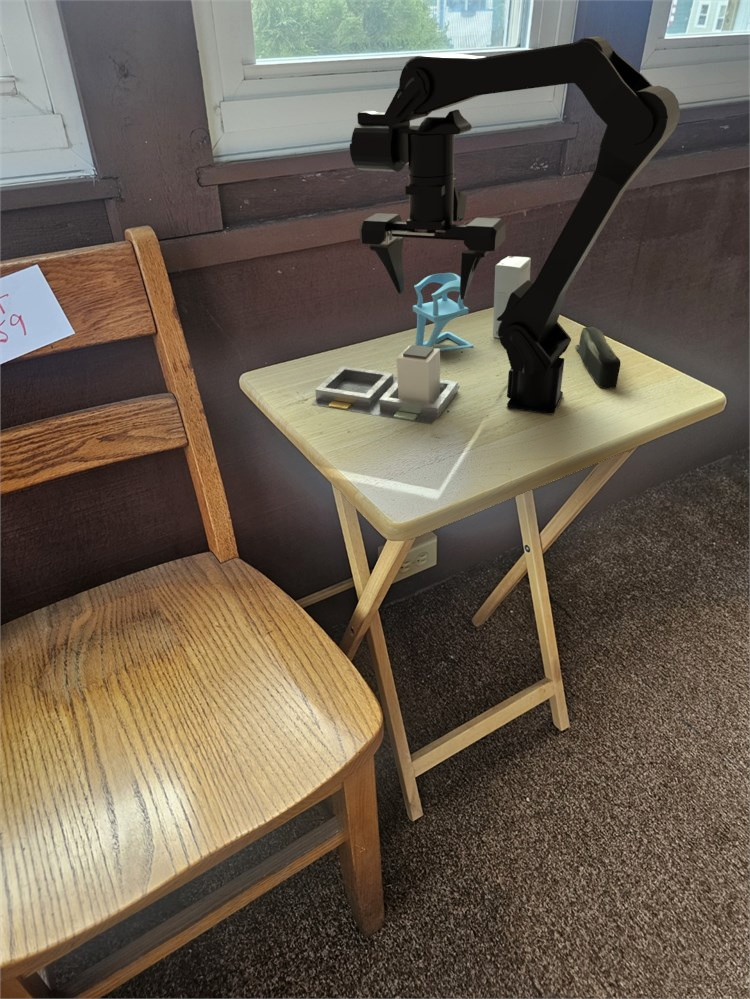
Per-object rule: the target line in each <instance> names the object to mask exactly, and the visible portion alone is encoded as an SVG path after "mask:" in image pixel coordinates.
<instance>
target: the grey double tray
mask: <svg viewBox="0 0 750 999" xmlns="http://www.w3.org/2000/svg"><path fill="white" fill-rule="evenodd" d="M460 388H461V387H460V385H459V381H453V380H446V379H440V396H439V397H438V398H437V400H436V401H435V402H434V404H429V403H423V402H416V401H410V400H403V399H398V377H397V376H394V372H390V371H389V372H388V371H381V370H374V369H367V368H362V367H361V368H360V367H354V366H353V367H352V366H346V365H341V366H340V367H339V368H338V369H336V370H335V371H334V372H333V373H332V374H331V375H330V376H328V377H327V378H326V379H325V380H324V381H323V382H322V383H321V384H320V385H319V386H318V387H316V388H315V389H314V390H315V399H316V400H315V401H314V402H313V403H312V404H311V406H315V407H316V406H317V407H323V408H329V409H336V410H340V411H348V412H352V413H359V414H365V415H371V416H378V417H383V418H389V419H394V420H395V419H396V420H401V421H408V422H414V423H419V424H425V425H433V423H434V422H435V420H436V419H439V418H440V416H441V414H443V412H444V411H445V409H446V408H447V406H448V405H449V404H450V403H451V401H452V400H453V399H454V398H455V396H456V395H457V393H458V392H459V389H460Z"/></svg>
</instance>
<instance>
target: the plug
mask: <svg viewBox="0 0 750 999" xmlns="http://www.w3.org/2000/svg"><path fill="white" fill-rule="evenodd" d="M396 369H397V372H396V374H397V375H396V377H398V399H403V400H410V401H416V402H423V403H429V404H434V402H435V401H436V400H437V398H438V397H439V396H440V380H441V351H440V349H436V348H435V347H426V345H425V346H417V345H415V344H409V345H407V347H406V348H405V349H404V350H403V351H402V352H401V353H400V354H399V355H398V356H397V357H396Z"/></svg>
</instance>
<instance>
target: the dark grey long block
mask: <svg viewBox="0 0 750 999" xmlns="http://www.w3.org/2000/svg"><path fill="white" fill-rule="evenodd" d="M574 348H575V350H576V351H577V352H578V353H580V354H579V355H580V357H581V360H582V362H583V364H584V365H585V367H586V369H587V371H588V373H589V374H590V376H591V378H592V379H593V381H594V383H595V384H596V385H597V387H600V388H603V389H615V388H617V385H618V381H619V374H620V369H621V359H620V358H619V356H617V355H616V353H615V352H614V351H613V349H612V347H611V346H610V345H609V343H608V342H607V339H606V338H605V334H604V332H603V331H602V330H600V329H598V328H596V327H594V326H586V327H583V328H582V329H581V333H580V337H579V344H576V345H575V346H574Z"/></svg>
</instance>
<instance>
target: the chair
mask: <svg viewBox="0 0 750 999" xmlns="http://www.w3.org/2000/svg"><path fill="white" fill-rule="evenodd" d="M460 277H461V276H459V275H458V274H456V273H453V272H445V273H435V274H431V275H428V276H426V277H424V278H423V279H422V280H421V281H420V282H419V283H417V284H414V285H413V287H414V290H415V293H416V296H417V304H414V305H412V312H414V313H416V318H417V319H416V333H415V334H416V335H415V342H414V343H415V344H414V345H417V346H426V347H433V346H434V345H436V344H439V343H441V342H442V341H444V340H445V339H450V341H452V342H454V343H456V344H458V345H457V346H455V345H454V346H447V347H446V346H445V347H437V348H436V349H440V352H442V351H444V352H445V351H452V350H461V349H474V344H472V343H470V342H469V341H467V340H465V339H463V338H461V337H459V335H456V334H454V333H452V332H450V331H445V332H442V331H443V329H444V328H445V326H446V325H447V324H448V323H449V322H451V321H452V320H454V319H456V318H458V317H459V316H464V315H468V314H469V307H467V306H465V305H464V300H462V299H461V296H460V295H459V296H458V298H457V302H455V301H454V300H452V299H450V298H449V297H448V293H450V292H458V293H460ZM431 283H438V284H439V285H441V287H439V288H438V290H436V291H435V292H433V293H431V297H432V301H430V302H425V303H424V298H423V295H422V292H421V290H422V289H424V288H425V286H427V285H429V284H431ZM427 320H429V321H430V322H432V323H434V328H433V330H432V332H431V335H430V337H429V339H428V340H426V341H424V337H425V329H426V323H427ZM441 332H442V333H441Z"/></svg>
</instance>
